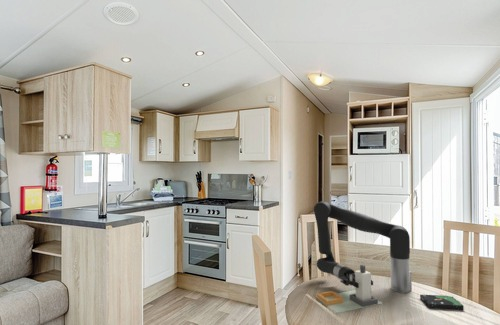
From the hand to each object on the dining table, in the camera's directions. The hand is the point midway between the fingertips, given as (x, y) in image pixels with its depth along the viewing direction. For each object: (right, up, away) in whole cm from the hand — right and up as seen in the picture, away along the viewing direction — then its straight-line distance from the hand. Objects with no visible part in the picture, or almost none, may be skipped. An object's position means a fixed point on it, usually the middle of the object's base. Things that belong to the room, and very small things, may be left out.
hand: (365, 284), depth 142 cm
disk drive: (+36, -10, -1) cm, 37 cm away
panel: (-7, -10, +3) cm, 12 cm away
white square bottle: (0, -9, +1) cm, 9 cm away
